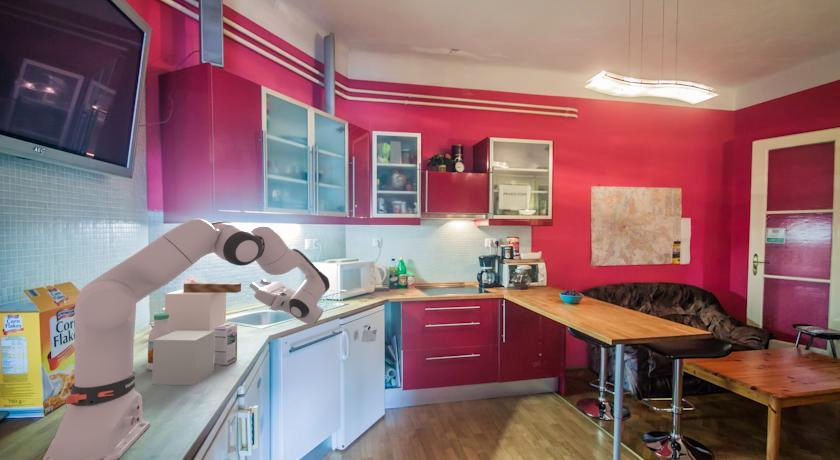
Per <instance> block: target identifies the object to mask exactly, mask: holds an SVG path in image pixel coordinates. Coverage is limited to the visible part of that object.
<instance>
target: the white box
mask: <svg viewBox="0 0 840 460" xmlns="http://www.w3.org/2000/svg"><path fill="white" fill-rule="evenodd" d="M164 295H165V296H164V298H165V299H164V308H165V312H164V313H168V314H169V319H168V323H169V326H170V327H171V329H172V331H173V332H174V331H214V328H215V327H218V326H221V325H224V324H227V323H226V319H227V318H226V317H227V316H226V315H227V313H226V312H227V293H216V292H184V288H183V289H179V290H176V291H175V290H174V291H172V292H171V291H170V292H167V293H165V294H164Z"/></svg>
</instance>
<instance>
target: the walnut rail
mask: <svg viewBox="0 0 840 460" xmlns="http://www.w3.org/2000/svg"><path fill="white" fill-rule="evenodd" d="M183 289H184V292H216V293H226V294H229V293H231V294H232V293H233V294H235V293H236V294H237V293H240V292H241V291H242V283H241V282H186V283H183Z"/></svg>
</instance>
